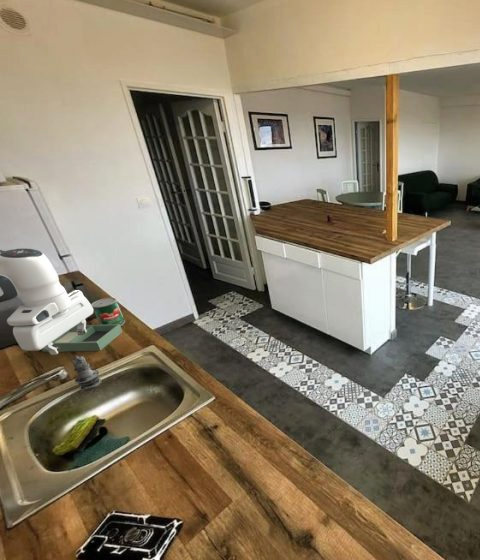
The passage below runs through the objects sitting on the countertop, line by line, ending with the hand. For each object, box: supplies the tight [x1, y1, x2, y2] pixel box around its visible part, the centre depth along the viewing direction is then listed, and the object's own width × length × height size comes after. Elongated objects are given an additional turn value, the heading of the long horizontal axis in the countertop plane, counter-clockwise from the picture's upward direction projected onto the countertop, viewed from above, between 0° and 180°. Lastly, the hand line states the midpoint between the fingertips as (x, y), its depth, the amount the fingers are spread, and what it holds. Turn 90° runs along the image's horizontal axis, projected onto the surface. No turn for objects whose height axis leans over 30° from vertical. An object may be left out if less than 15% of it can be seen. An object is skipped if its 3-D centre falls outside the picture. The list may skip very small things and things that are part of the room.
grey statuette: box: [71, 355, 103, 392], centre depth 98 cm, size 6×6×12 cm
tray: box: [41, 324, 123, 353], centre depth 120 cm, size 12×20×4 cm, turn 95°
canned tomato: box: [90, 297, 126, 326], centre depth 129 cm, size 8×8×11 cm
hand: (70, 343), depth 94 cm, fingers open, 8 cm apart
